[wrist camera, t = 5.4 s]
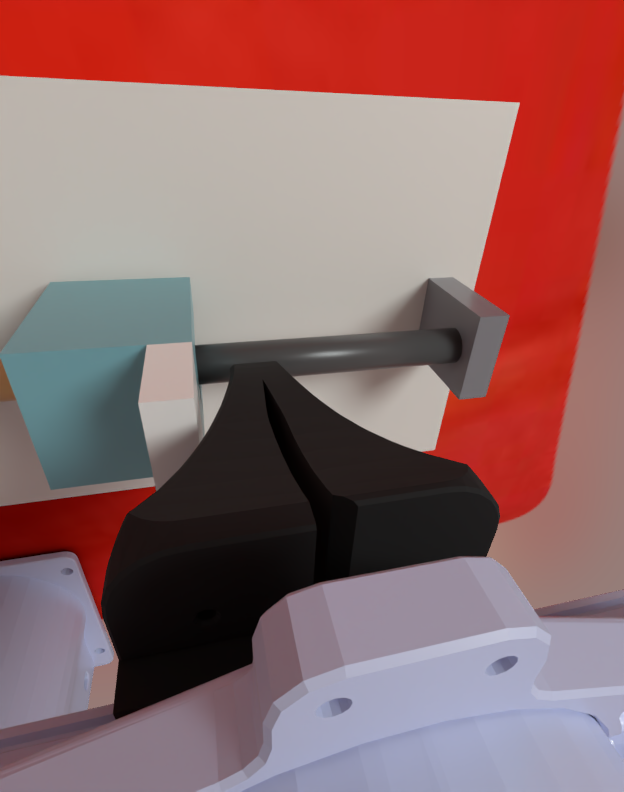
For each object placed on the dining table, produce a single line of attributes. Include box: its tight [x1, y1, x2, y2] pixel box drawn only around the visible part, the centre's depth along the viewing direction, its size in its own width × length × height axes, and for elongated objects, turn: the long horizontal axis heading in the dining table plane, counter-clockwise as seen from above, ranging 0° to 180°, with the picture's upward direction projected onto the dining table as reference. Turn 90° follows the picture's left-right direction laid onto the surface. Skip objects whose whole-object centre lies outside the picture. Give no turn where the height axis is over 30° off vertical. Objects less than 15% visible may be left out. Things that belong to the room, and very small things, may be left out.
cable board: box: [0, 76, 520, 506], centre depth 14 cm, size 14×20×6 cm
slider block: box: [0, 277, 205, 491], centre depth 12 cm, size 4×4×7 cm
